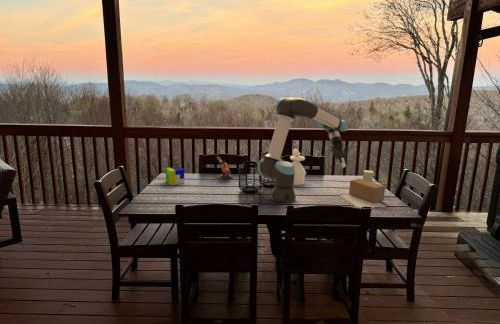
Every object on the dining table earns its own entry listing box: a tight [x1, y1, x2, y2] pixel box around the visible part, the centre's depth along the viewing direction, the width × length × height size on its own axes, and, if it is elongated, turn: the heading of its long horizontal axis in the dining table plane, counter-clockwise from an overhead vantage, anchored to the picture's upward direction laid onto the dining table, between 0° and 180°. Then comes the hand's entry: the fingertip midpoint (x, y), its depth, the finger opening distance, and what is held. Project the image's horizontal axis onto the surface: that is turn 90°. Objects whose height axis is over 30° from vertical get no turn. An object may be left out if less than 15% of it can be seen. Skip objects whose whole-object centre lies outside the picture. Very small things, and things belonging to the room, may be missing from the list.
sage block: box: [362, 169, 374, 182], centre depth 227 cm, size 6×6×14 cm
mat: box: [339, 194, 387, 209], centre depth 206 cm, size 23×18×1 cm
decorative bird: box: [216, 155, 234, 179], centre depth 251 cm, size 28×18×15 cm, turn 6°
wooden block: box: [348, 178, 386, 203], centre depth 211 cm, size 10×10×20 cm
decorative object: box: [289, 148, 307, 186], centre depth 241 cm, size 16×14×25 cm
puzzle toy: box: [165, 166, 185, 186], centre depth 236 cm, size 10×10×10 cm
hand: (344, 166), depth 228 cm, fingers closed
